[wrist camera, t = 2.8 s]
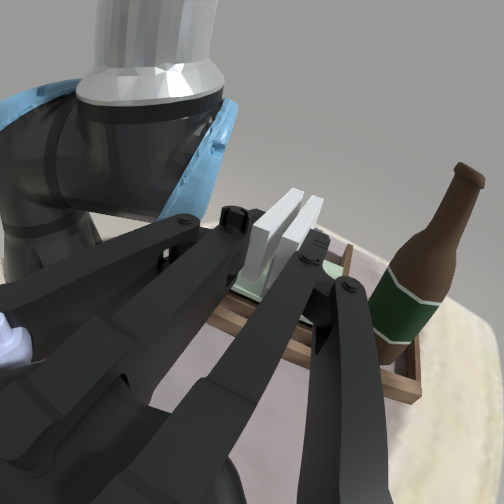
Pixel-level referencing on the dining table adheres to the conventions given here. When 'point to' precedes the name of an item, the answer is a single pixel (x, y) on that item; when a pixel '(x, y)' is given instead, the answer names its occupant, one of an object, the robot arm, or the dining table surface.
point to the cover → (259, 288)
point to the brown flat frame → (301, 354)
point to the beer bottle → (422, 270)
